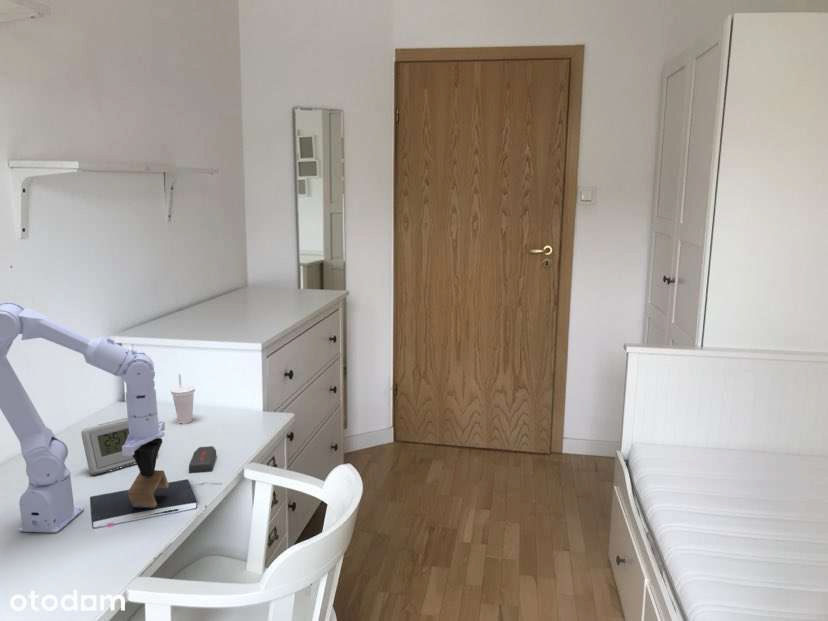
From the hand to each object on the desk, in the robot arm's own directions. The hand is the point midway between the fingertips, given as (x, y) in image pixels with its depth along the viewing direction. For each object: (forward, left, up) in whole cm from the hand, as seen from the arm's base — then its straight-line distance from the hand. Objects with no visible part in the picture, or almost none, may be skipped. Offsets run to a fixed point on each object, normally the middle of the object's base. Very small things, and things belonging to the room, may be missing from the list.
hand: (147, 474), depth 137 cm
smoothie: (+48, +13, -6) cm, 50 cm away
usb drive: (+21, -3, -7) cm, 22 cm away
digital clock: (+19, +16, -7) cm, 25 cm away
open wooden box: (-3, 0, -5) cm, 6 cm away
